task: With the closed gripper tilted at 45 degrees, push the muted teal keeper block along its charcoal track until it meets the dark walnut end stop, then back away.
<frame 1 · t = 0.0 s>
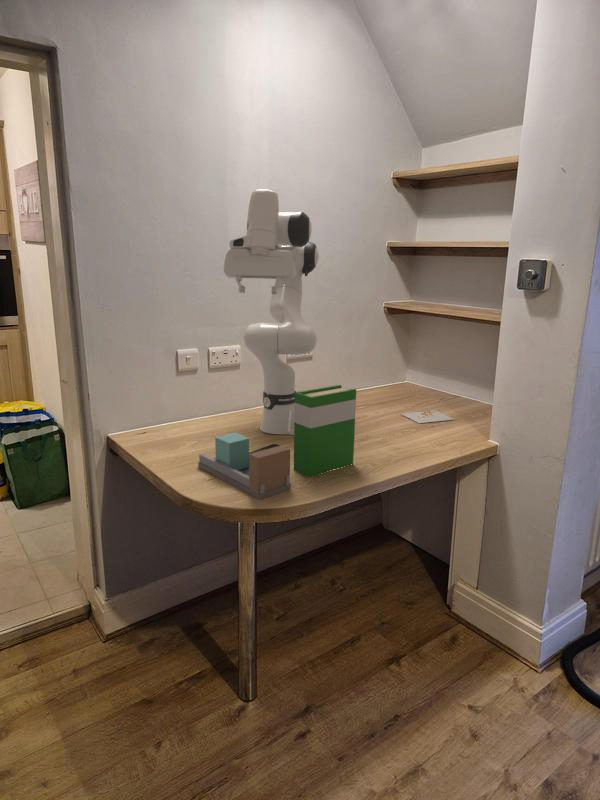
hand: (257, 293, 163), 52 cm above the table, tool tilted 20°, fingers open, 8 cm apart
keeper block: (232, 452, 168), point 6 cm above the table, slide at 0.0 cm
hardback book: (323, 467, 175), on the table
paper stack: (424, 422, 225), on the table
keeper track: (242, 477, 166), on the table
phone: (267, 455, 186), on the table
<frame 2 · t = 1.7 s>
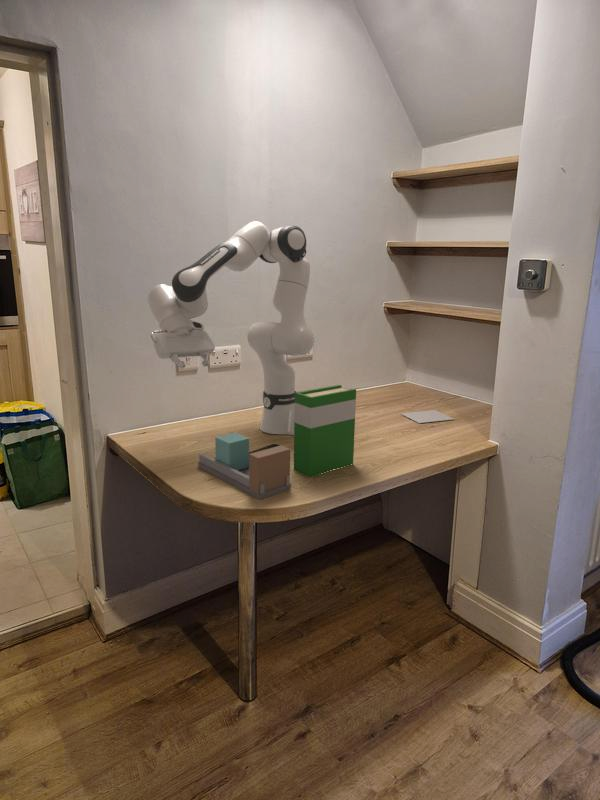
hand: (195, 366, 176), 29 cm above the table, tool tilted 45°, fingers open, 8 cm apart
nothing on the table moved.
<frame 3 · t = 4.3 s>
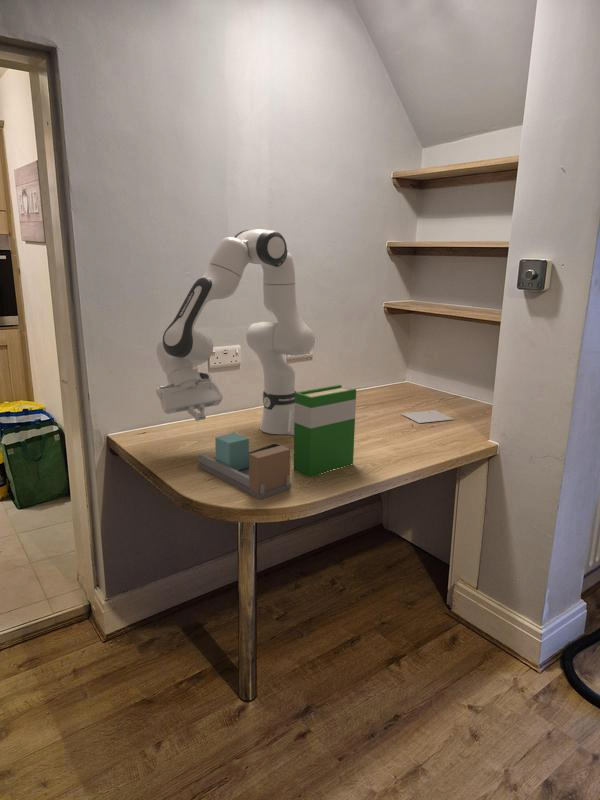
hand: (201, 419, 178), 13 cm above the table, tool tilted 45°, fingers closed
nothing on the table moved.
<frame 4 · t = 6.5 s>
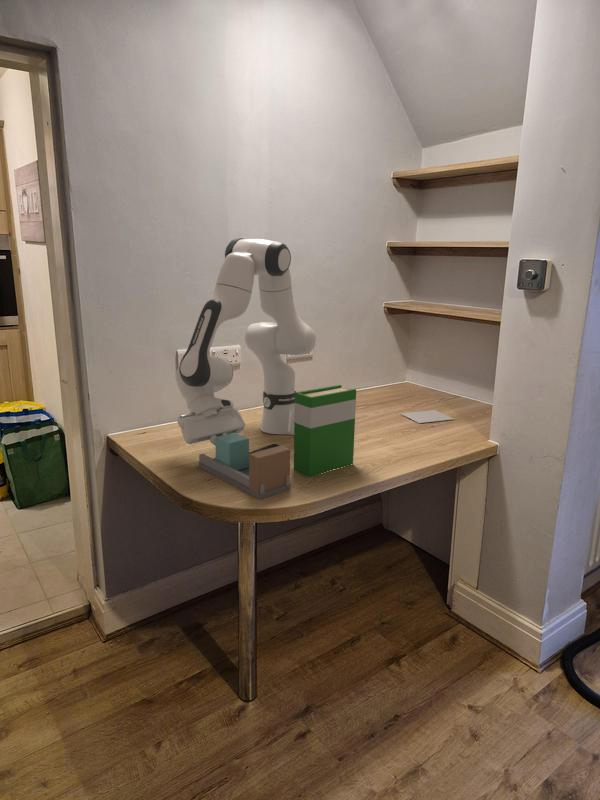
hand: (224, 449, 171), 6 cm above the table, tool tilted 45°, fingers closed, pressing on keeper block
keeper block: (232, 452, 168), point 6 cm above the table, slide at 0.0 cm, touching gripper
everything else where it was.
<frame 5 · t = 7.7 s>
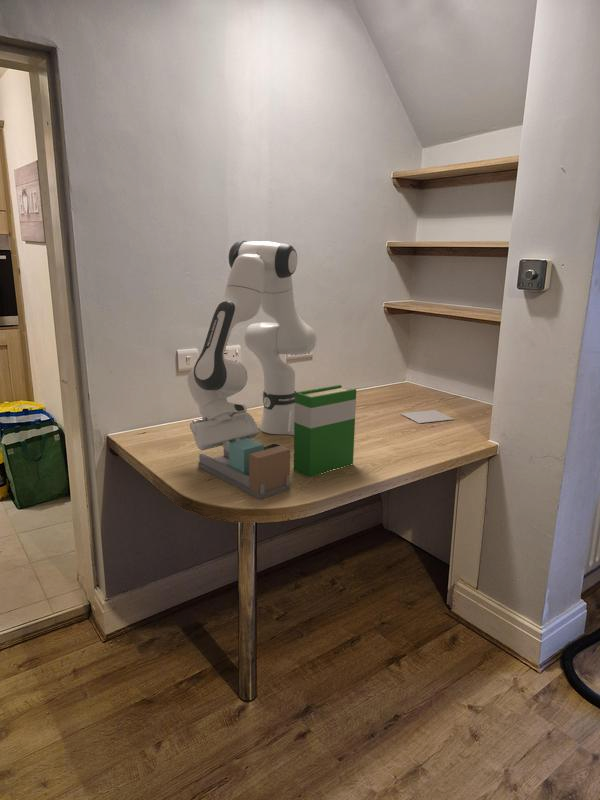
hand: (237, 455, 166), 6 cm above the table, tool tilted 45°, fingers closed, pressing on keeper block
keeper block: (246, 458, 163), point 6 cm above the table, slide at 6.9 cm, touching gripper
everything else where it was.
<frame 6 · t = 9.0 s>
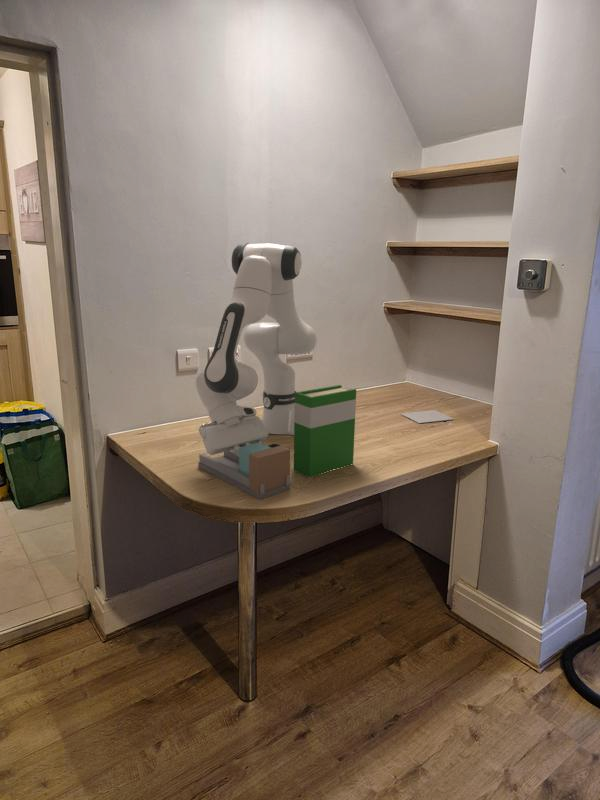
hand: (247, 459, 163), 6 cm above the table, tool tilted 45°, fingers closed, pressing on keeper block
keeper block: (256, 463, 160), point 6 cm above the table, slide at 11.7 cm, touching gripper
everything else where it was.
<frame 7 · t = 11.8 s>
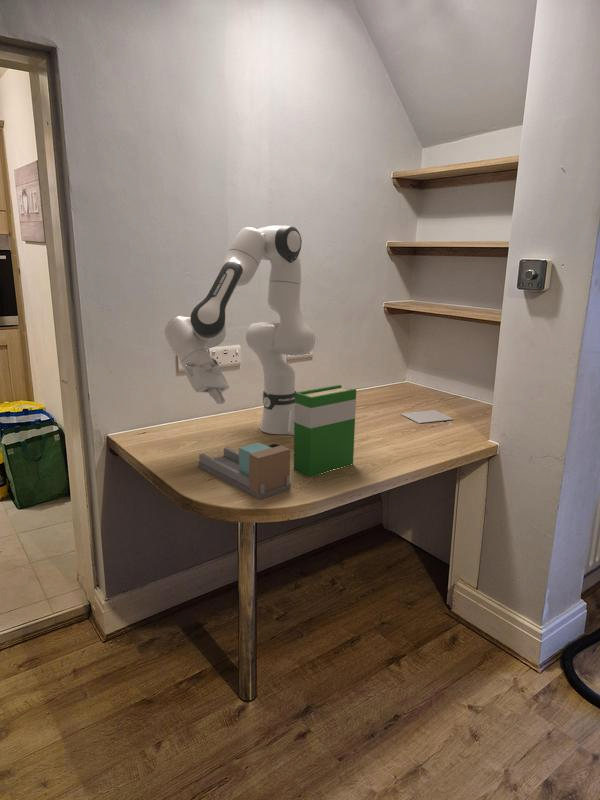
hand: (221, 402, 174), 19 cm above the table, tool tilted 40°, fingers closed
keeper block: (256, 463, 160), point 6 cm above the table, slide at 11.7 cm
everything else where it was.
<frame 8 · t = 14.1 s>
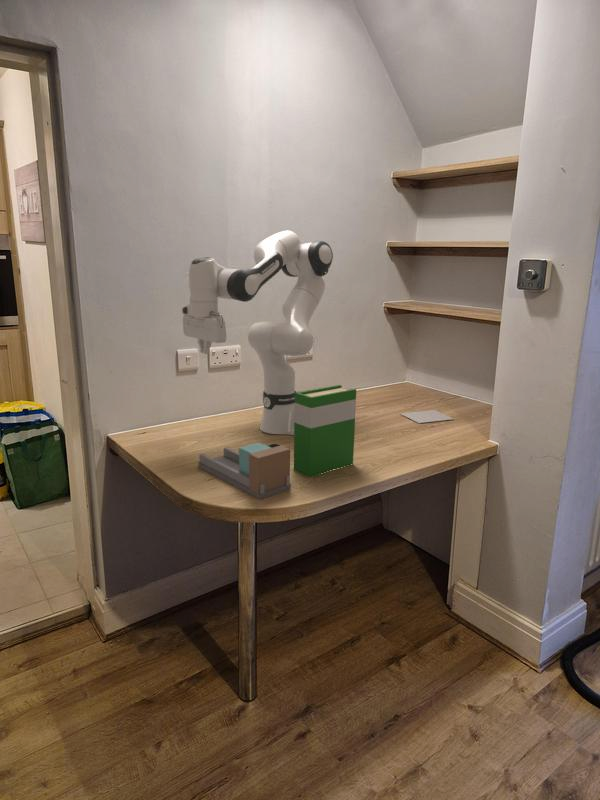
hand: (204, 353, 186), 31 cm above the table, tool pointing down, fingers closed
nothing on the table moved.
at the end: keeper block slide at 11.7 cm; the gripper is holding nothing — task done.
